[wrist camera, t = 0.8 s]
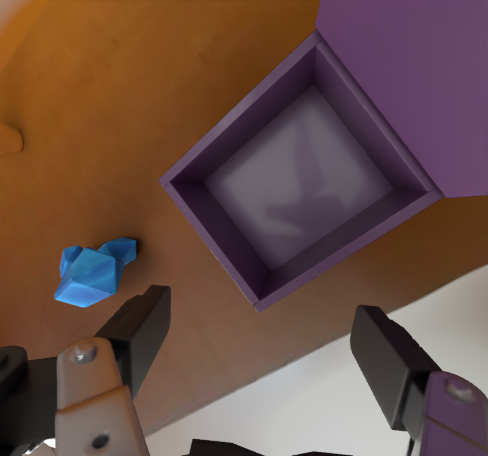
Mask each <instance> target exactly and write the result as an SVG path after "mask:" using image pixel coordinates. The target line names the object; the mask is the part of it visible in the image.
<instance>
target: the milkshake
mask: <svg viewBox="0 0 488 456" xmlns="http://www.w3.org/2000/svg"><path fill="white" fill-rule="evenodd" d="M22 147H23V137H22V136H21V134H20V132H19V130H17V129H15V128H13V127H10V126H6V125H2V124H0V153H4V154H14V153H18V152H20V150H21V148H22Z"/></svg>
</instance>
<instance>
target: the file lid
mask: <svg viewBox="0 0 488 456" xmlns="http://www.w3.org/2000/svg"><path fill="white" fill-rule="evenodd" d="M314 26H315V28H316V29H317V30H318V31H319V33H320V34H321V35H322V37H323V38H324V39H325V41H326V42H327V43H328V44H329V46H330V47H331V48H332V50H333V51H334V52H335V54H336V55H337V56H338V57H339V59H340V60H341V61H342V63H343V64H344V65H345V67H346V68H347V69H348V70H349V72H350V73H351V74H352V76H353V77H354V78H355V80H356V81H357V82H358V83H359V85H360V86H361V87H362V89H363V90H364V91H365V93H366V94H367V95H368V96H369V98H370V99H371V100H372V102H373V103H374V104H375V106H376V107H377V108H378V109H379V111H380V112H381V113H382V115H383V116H384V117H385V119H386V120H387V121H388V122H389V124H390V125H391V126H392V128H393V129H394V130H395V132H396V133H397V134H398V135H399V137H400V138H401V139H402V141H403V142H404V143H405V145H406V146H407V147H408V148H409V150H410V151H411V152H412V154H413V155H414V156H415V158H416V159H417V160H418V161H419V163H420V164H421V165H422V167H423V168H424V169H425V170H426V172H427V173H428V174H429V176H430V177H431V178H432V180H433V181H434V182H435V183H436V185H437V186H438V187H439V189H440V190H441V191H442V193H443V194H444V195H445V196H446V197H447V198H453V197H467V196H481V195H488V0H320V4H319V8H318V12H317V16H316V20H315V25H314Z"/></svg>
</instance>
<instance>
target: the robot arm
mask: <svg viewBox="0 0 488 456" xmlns="http://www.w3.org/2000/svg"><path fill="white" fill-rule="evenodd" d="M170 316H171V289H170V287H169V286H160V285H151V286H150V287H149V288H148V290H147V291H146V292H145V293H144V294H143V296H141V295H137V296H135V297H133V298H131V299H129V300H127V301H126V302H125V303H124V304H123V305H122V306H121V308H120V309H119V310H118V311H117V312H116V313H115V314H114V316H112V317H111V318H110V319H109V320H108V322H107V323H106V324H105V325H104V326H103V327H102V328H101V329H100V330H99V331H98V332H97V333H96V334H95V336H94V337H90V338H84V339H81V340H78V341H76V342H73V343H72V344H70V345H68V346H67V347H65V348H64V349H63V350H62V351H61V352H60V353H59V355H58V357H51V358H44V359H36V360H28V358H27V352H26V350H25V349H24V348H22V347H19V346H5V347H0V456H22V455H23V454H24V453H25V451H26V450H27V449H28V447H29V446H30V445H31V443H34V442H39V441H44V440H48V439H53V438H55V456H150V454H149V451H148V448H147V445H146V442H145V438H144V435H143V432H142V429H141V425H140V422H139V419H138V416H137V412H136V409H135V406H134V403H133V400H134V398H135V396H136V394H137V392H138V390H139V388H140V386H141V384H142V382H143V380H144V378H145V376H146V374H147V372H148V370H149V368H150V366H151V364H152V363H153V361H154V359H155V357H156V355H157V353H158V351H159V349H160V347H161V345H162V343H163V341H164V339H165V337H166V335H167V333H168V330H169V326H170ZM350 345H351V350H352V353H353V355H354V357H355V359H356V361H357V363H358V365H359V367H360V369H361V371H362V372H363V375H364V377H365V378H366V380H367V382H368V384H369V386H370V388H371V390H372V392H373V394H374V396H375V398H376V400H377V402H378V404H379V406H380V407H381V410H382V412H383V414H384V415H385V417H386V419H387V421H388V423H389V425H390V427H391V429H392V430H398V431H408V433H409V435H410V440H409V443H408V447H407V451H406V456H488V399H487V397H486V396H485V394H484V393H483V392H482V391H481V390H480V389H478V388H477V387H476V386H474V385H473V384H472V383H470V382H469V381H467V380H465V379H464V378H462V377H460V376H457V375H455V374H452V373H449V372H445V371H442V370H441V369H440V367H439V366H438V365H437V364H436V363H435V362H434V361H433V360H432V359H431V357H430V356H429V355H428V354H427V353H426V352H425V351H424V350H423V348H422V347H419V344H418V343H417V342H416V341H415V340H414V339H412V336H411V335H410V334H409V333H408V332H407V331H406V330H405V329H404V328H403V327H402V326H400V325H399V324H397V323H396V322H394V321H393V320H390V319H389V318H388V317H387V316H386V314H385V313H384V312H383V311H382V310H381V309H380V308H379V307H378V306H368V305H358V307H357V309H356V313H355V317H354V322H353V327H352V332H351V337H350ZM183 456H264V455H261V454H259V453H256V452H254V451H251V450H249V449H246V448H244V447H241V446H238V445H236V444H233V443H229V442H219V441H210V440H200V439H193V440H192V444H191V449H190V453H189V454H187V455H183ZM293 456H352V455H343V454H333V453H324V452H314V451H313V452H308V453H303V454H298V455H293Z"/></svg>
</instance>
